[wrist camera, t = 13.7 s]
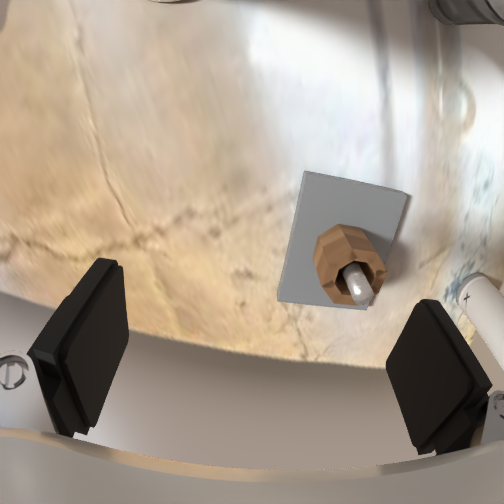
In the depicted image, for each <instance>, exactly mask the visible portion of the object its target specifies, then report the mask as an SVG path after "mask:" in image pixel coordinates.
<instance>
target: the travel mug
mask: <svg viewBox="0 0 504 504" xmlns="http://www.w3.org/2000/svg"><path fill="white" fill-rule="evenodd" d="M456 302H457V304H458V305H459V306H460V308H461V309H462V311H463V312H464V313H465V315H466V316H467V317H468V319H469V320H470V322H471V323H472V324H473V326H474V327H475V329H476V330H477V331H478V333H479V334H480V336H481V337H482V339H483V340H484V342H485V343H486V345H487V346H488V347H489V349H490V351H491V352H492V354H493V355H494V357H495V358H496V360H497V361H498V363H499V364H500V366H501V367H502V369H503V371H504V296H503V295H502V294H501V293H500V292H499V290H498V289H497V288H496V287H495V286H494V285H493V284H492V283H491V282H490V281H489V280H488V279H487V277H486V276H485V275H483V274H481V273H474V274H472V275H470V276H468V277H467V278H466V279H465V280H464V281H463V282H462V283H461V284H460V286H459V288H458V290H457V293H456Z"/></svg>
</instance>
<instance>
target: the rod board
mask: <svg viewBox="0 0 504 504" xmlns="http://www.w3.org/2000/svg"><path fill="white" fill-rule="evenodd" d="M406 198H407V195H406V194H405V193H404V192H402V191H399V190H394V189H390V188H386V187H382V186H377V185H373V184H368V183H364V182H359V181H355V180H350V179H345V178H340V177H335V176H330V175H325V174H320V173H314V172H309V171H304V173H303V178H302V183H301V188H300V192H299V197H298V202H297V207H296V211H295V216H294V221H293V225H292V230H291V234H290V239H289V243H288V248H287V252H286V257H285V261H284V266H283V270H282V274H281V279H280V283H279V287H278V292H277V301H279V302H288V303H297V304H306V305H315V306H325V307H335V308H346V309H357V310H367V308H368V305H369V303H370V302H369V303H367V304H365V305H358V306H354V305H343V304H334V303H333V302H332V300H331V299H330V297H329V296H328V295H327V293H326V292H325V291H324V289H323V288H322V287H321V284H320V280H319V277H318V274H317V271H316V268H315V264H314V261H313V258H312V257H313V253H314V249H315V245H316V241H317V237H318V236H319V235H321V234H322V233H324V232H326V231H327V230H329V229H330V228H332V227H333V226H335V225H336V224H343V225H349V226H355V227H360V228H361V230H362V231H363V233H364V234H365V236H366V237H367V238H368V240H369V241H370V243H371V244H372V246H373V247H374V249H375V250H376V252H377V254H378V256H379V257H380V259H381V261H382V263H383V265H384V264H385V261H386V259H387V256H388V253H389V250H390V247H391V244H392V242H393V239H394V236H395V233H396V230H397V227H398V224H399V221H400V217H401V214H402V211H403V208H404V205H405V201H406Z"/></svg>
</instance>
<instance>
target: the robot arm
mask: <svg viewBox="0 0 504 504" xmlns="http://www.w3.org/2000/svg"><path fill="white" fill-rule="evenodd" d="M150 1H155V2H173V1H180V0H150ZM128 338H129V329H128V320H127V311H126V300H125V288H124V274H123V267H122V266H119V265H118V263H117V261H116V260H112V259H105V258H98V259H97V260H96V261H95V262H94V263H93V265H92V266H91V267H90V268H89V270H88V271H87V272H86V274H85V275H84V276H83V278H82V279H81V280H80V281H79V283H78V284H77V285H76V287H75V288H74V289H73V291H72V292H71V294H70V295H69V296H67V297H66V298H65V299H64V300H63V301H62V303H61V304H60V305H59V307H58V308H57V310H56V311H55V312H54V314H53V315H52V317H51V318H50V320H49V321H48V322H47V324H46V325H45V327H44V328H43V330H42V331H41V333H40V334H39V336H38V337H37V339H36V340H35V342H34V343H33V345H32V346H31V348H30V349H29V351H28V352H27V354H24V353H22V352H20V351H6V352H3V353H1V354H0V504H504V391H499V390H497V391H494V392H493V393H492V394H491V395H490V396H488V394H487V392H488V391H489V390H490V388H491V387H492V383H491V382H490V380H489V378H488V376H487V375H486V373H485V371H484V370H483V368H482V366H481V365H480V363H479V361H478V360H477V358H476V357H475V355H474V353H473V352H472V350H471V349H470V347H469V345H468V344H467V342H466V341H465V339H464V337H463V336H462V334H461V333H460V331H459V330H458V328H457V327H456V325H455V324H454V322H453V321H452V319H451V318H450V316H449V315H448V313H447V312H446V311H445V309H444V308H443V306H442V305H441V303H440V302H439V301H438V300H431V299H422V300H421V301H420V302H419V303H417V304H416V305H415V307H414V309H413V311H412V313H411V315H410V317H409V319H408V321H407V323H406V325H405V327H404V329H403V331H402V333H401V335H400V336H399V338H398V340H397V342H396V344H395V346H394V348H393V350H392V351H391V353H390V355H389V357H388V359H387V361H386V371H387V373H388V376H389V379H390V381H391V384H392V387H393V389H394V392H395V395H396V398H397V400H398V403H399V406H400V409H401V412H402V415H403V418H404V421H405V423H406V427H407V430H408V433H409V436H410V439H411V442H412V444H413V446H414V447H416V448H417V451H418V455H422V454H427V453H431V452H432V451H434V450H435V451H436V453H437V454H436V455H435V456H432V457H427V458H422V459H417V460H411V461H405V462H399V463H392V464H384V465H376V466H368V467H358V468H346V469H330V470H302V471H301V470H299V471H298V470H296V471H287V470H286V471H285V470H254V469H238V468H226V467H215V466H207V465H199V464H191V463H184V462H178V461H172V460H165V459H161V458H155V457H150V456H145V455H139V454H135V453H130V452H126V451H121V450H117V449H113V448H109V447H105V446H101V445H97V444H94V443H89V442H86V441H81V440H78V439H74V438H73V435H74V433H75V432H78V433H81V434H84V435H87V434H88V431H89V428H90V427H95V426H96V424H97V421H98V418H99V416H100V413H101V410H102V407H103V405H104V402H105V399H106V397H107V394H108V391H109V389H110V386H111V383H112V381H113V378H114V376H115V373H116V371H117V368H118V366H119V363H120V361H121V358H122V356H123V353H124V351H125V348H126V346H127V343H128Z"/></svg>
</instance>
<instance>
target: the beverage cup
mask: <svg viewBox="0 0 504 504" xmlns="http://www.w3.org/2000/svg"><path fill="white" fill-rule="evenodd" d="M428 3H429V8H430V10H431V12H432V13H433V15H434V16H435V17H436V18H437V19H438V20H439V21H440V22H442V23H444V24H448V25H451V24H455V25H464V24H499V25H503V26H504V0H428Z"/></svg>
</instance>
